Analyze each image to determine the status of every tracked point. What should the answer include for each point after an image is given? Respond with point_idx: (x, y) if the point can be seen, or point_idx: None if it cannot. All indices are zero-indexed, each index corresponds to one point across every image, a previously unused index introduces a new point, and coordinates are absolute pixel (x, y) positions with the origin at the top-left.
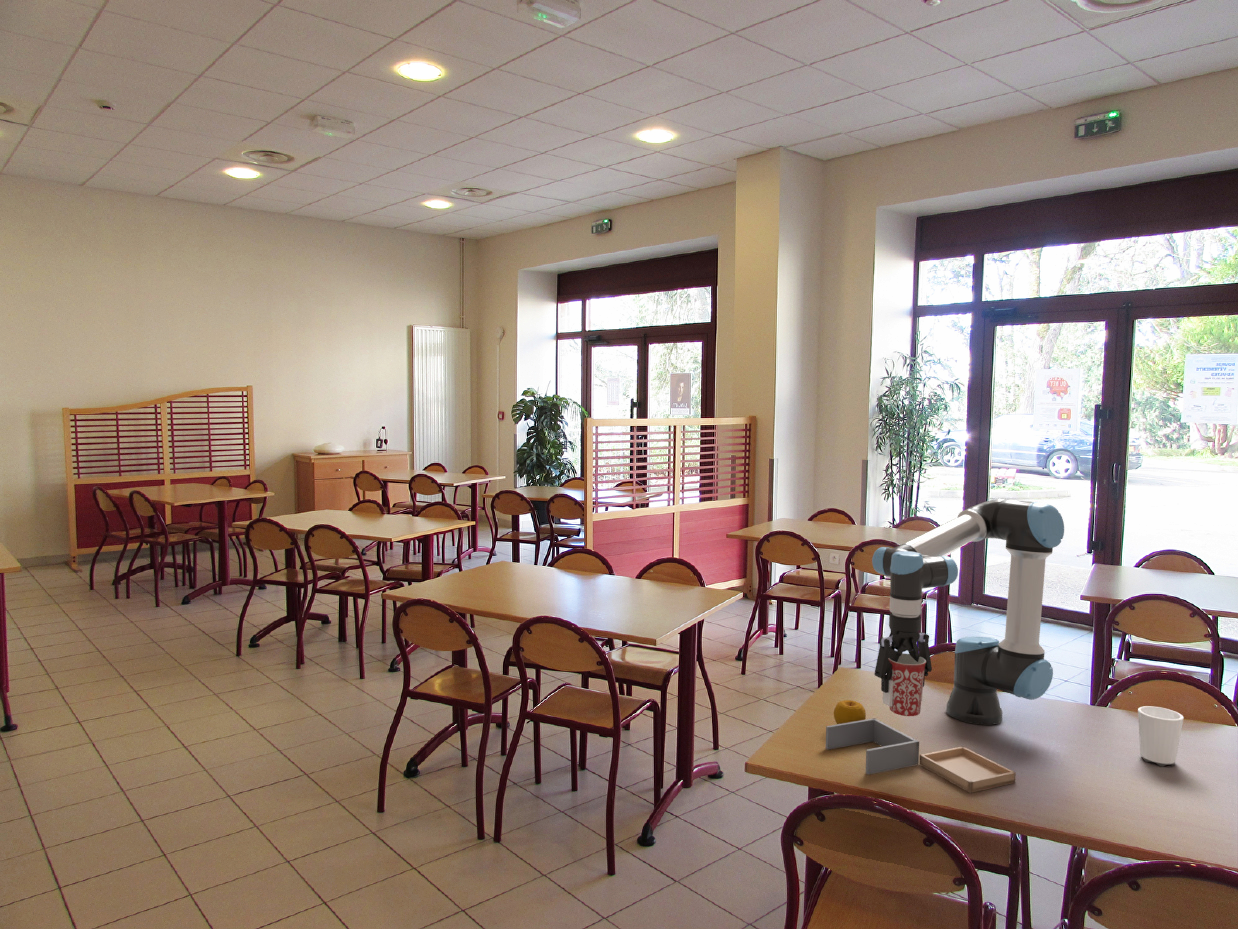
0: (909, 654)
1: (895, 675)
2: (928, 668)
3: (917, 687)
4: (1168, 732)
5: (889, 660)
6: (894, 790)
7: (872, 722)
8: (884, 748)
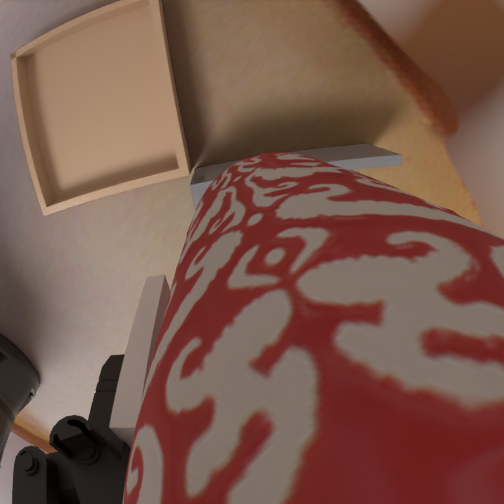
0: None
1: None
2: (40, 481)
3: (340, 191)
4: None
5: None
6: (351, 54)
7: None
8: (345, 159)
